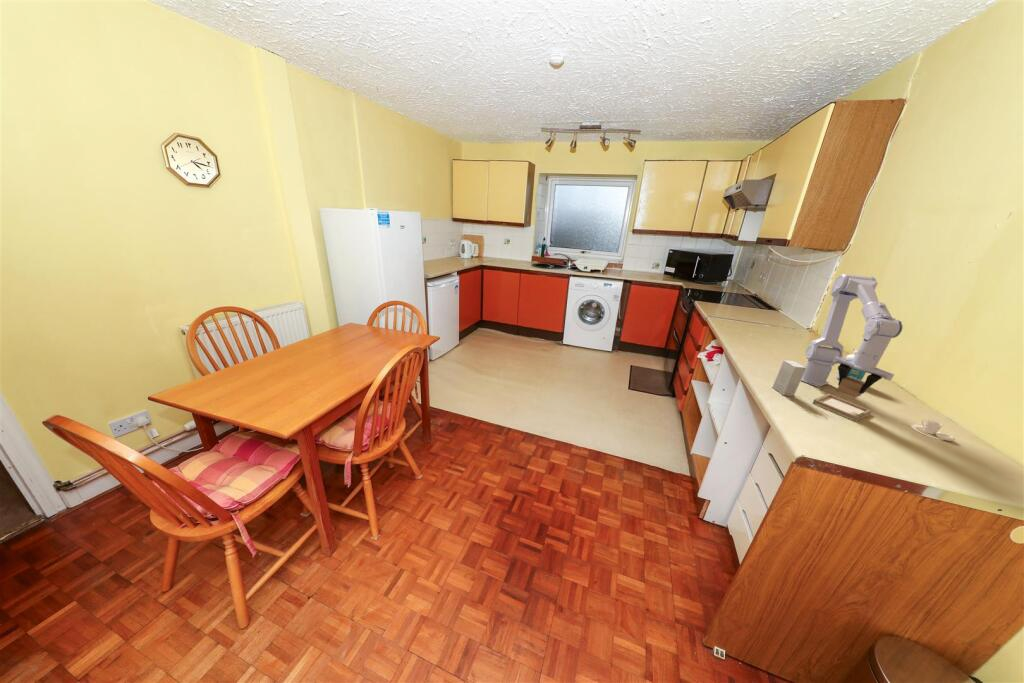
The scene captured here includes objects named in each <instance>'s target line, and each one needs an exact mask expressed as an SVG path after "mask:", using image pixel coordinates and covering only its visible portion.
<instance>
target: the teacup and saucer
mask: <svg viewBox="0 0 1024 683" xmlns="http://www.w3.org/2000/svg"><path fill="white" fill-rule="evenodd" d="M924 421H926V423H925V424H924ZM910 426H911V428H912V429H913V430H915V431H916V432H918V433H920V434H922V435H924V436H926V437H930V438H932V439H937V440H940V441H947V442H954V441H955V440H956V438H955V436H953V435H950V434H947V433H943V432H941V431H940V430H941V429H942V427H943V426H944V425H943V424H942V423H940V422H938V421H937V420H936V421H935V420H931V419H922V420H921V424H912V425H910ZM918 428H923V431H924V432H925V433H924V432H922V431H920V430H918ZM932 435H935V436H932Z"/></svg>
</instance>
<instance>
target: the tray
mask: <svg viewBox="0 0 1024 683" xmlns="http://www.w3.org/2000/svg"><path fill="white" fill-rule="evenodd" d="M812 404H813V405H816V406H818V407H821V408H823V409H825V410H828V411H830V412H833V413H835V414H837V415H840V416H842V417H845V418H847V419H849V420H852V421H854V422H857V421H859V420H861V419H863V418H865V417H867V416H868V415H870V414H871V413H872V409H869V408H867V407H865V406H861V405H860V404H857V403H854V402H852V401H849V400H847V399H844V398H841V397H839V396H836V395H834V394H831V393H827V394H824V395H822V396H819V397H817V398H815V399H813V401H812Z"/></svg>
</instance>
